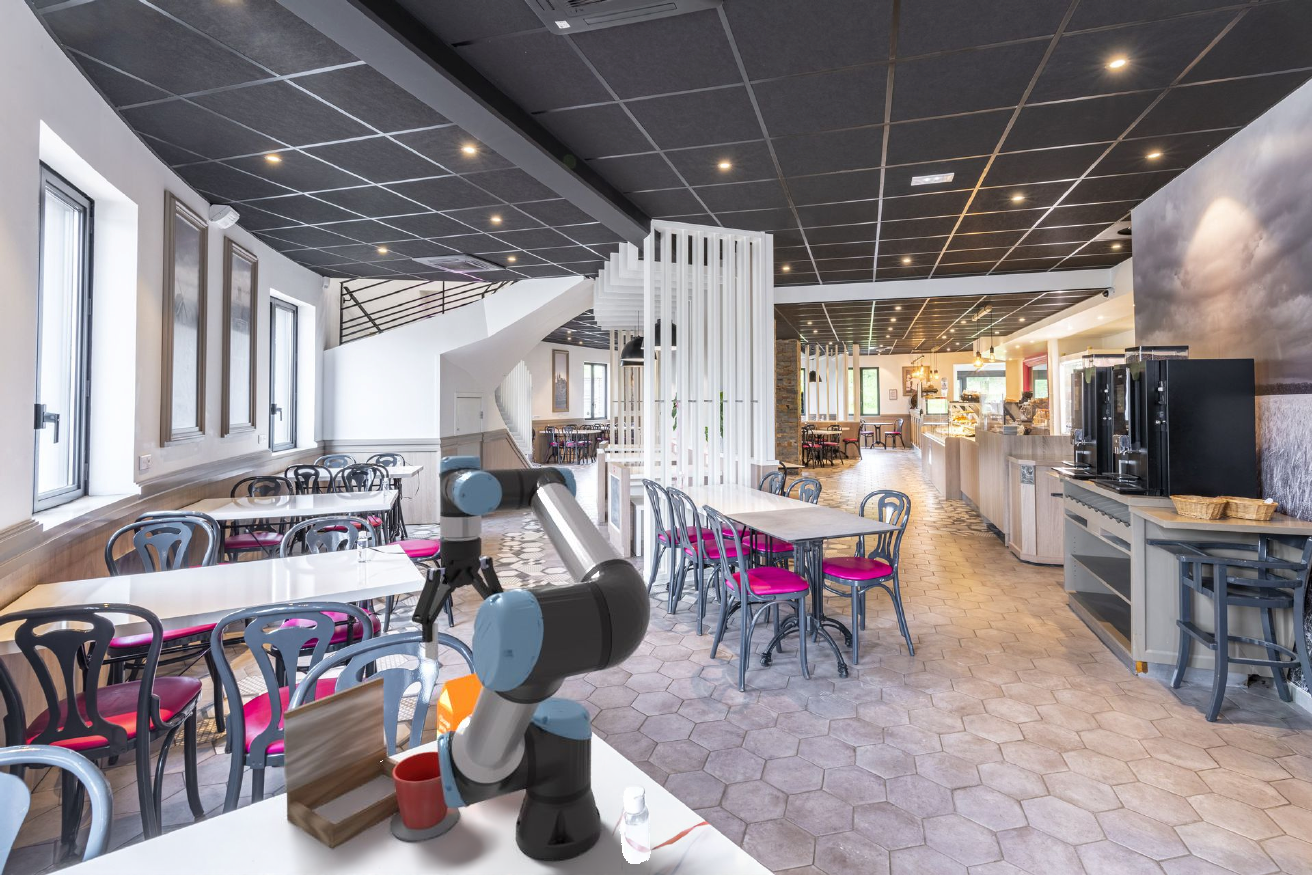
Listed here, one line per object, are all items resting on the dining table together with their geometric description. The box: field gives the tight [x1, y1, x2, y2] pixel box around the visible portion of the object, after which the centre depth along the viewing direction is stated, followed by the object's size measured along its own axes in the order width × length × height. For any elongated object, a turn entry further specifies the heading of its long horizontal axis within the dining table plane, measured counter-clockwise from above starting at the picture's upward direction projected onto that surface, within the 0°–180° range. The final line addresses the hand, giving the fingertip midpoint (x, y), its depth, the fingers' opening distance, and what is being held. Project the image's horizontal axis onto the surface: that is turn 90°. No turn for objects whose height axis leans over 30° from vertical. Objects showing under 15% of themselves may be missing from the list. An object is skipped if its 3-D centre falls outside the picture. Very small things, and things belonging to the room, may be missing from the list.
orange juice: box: [436, 672, 483, 752], centre depth 138 cm, size 8×9×20 cm
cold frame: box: [282, 676, 400, 850], centre depth 125 cm, size 17×20×20 cm
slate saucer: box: [389, 807, 460, 843], centre depth 121 cm, size 12×12×1 cm
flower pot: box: [393, 751, 448, 829], centre depth 120 cm, size 11×11×10 cm
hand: (461, 647), depth 124 cm, fingers open, 13 cm apart
